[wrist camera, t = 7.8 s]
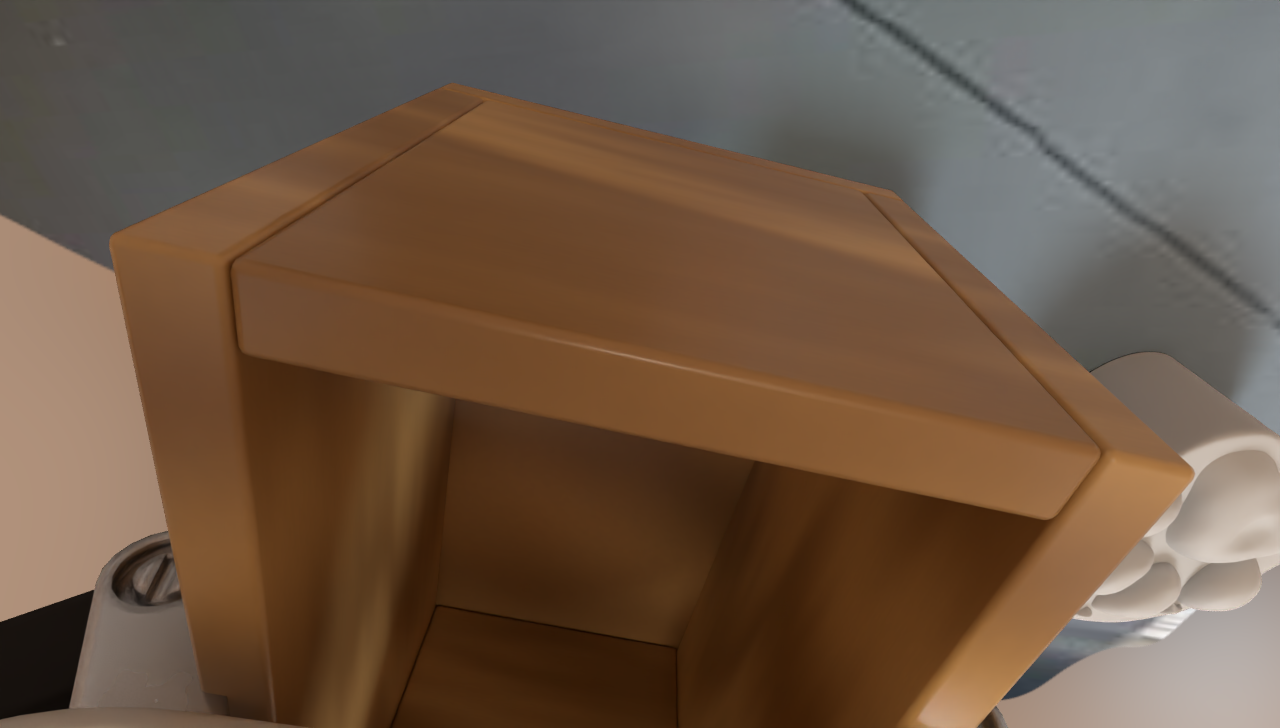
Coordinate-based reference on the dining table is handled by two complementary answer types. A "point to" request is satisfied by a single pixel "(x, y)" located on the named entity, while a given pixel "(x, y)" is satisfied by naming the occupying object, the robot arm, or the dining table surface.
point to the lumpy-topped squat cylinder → (1195, 498)
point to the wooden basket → (608, 437)
